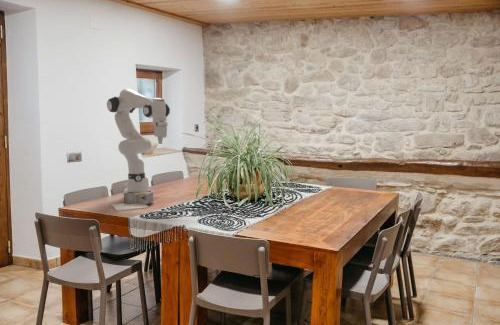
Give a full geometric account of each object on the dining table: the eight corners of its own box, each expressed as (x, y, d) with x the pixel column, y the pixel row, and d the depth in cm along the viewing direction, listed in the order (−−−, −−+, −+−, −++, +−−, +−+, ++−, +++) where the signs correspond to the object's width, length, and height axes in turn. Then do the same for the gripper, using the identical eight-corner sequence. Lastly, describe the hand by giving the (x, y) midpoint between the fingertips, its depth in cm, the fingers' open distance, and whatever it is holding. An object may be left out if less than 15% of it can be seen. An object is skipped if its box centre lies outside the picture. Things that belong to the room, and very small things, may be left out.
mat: (111, 205, 297) (111, 204, 297) (141, 202, 305) (141, 201, 305) (116, 211, 279) (116, 210, 279) (148, 207, 287) (148, 206, 287)
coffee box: (153, 201, 302) (130, 200, 306) (153, 191, 302) (130, 191, 305) (147, 204, 294) (124, 203, 297) (147, 194, 293) (123, 193, 297)
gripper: (151, 122, 316) (152, 143, 317) (158, 123, 297) (159, 145, 299) (160, 122, 318) (161, 142, 320) (168, 123, 300) (169, 144, 301)
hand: (160, 143), depth 309 cm, fingers closed
